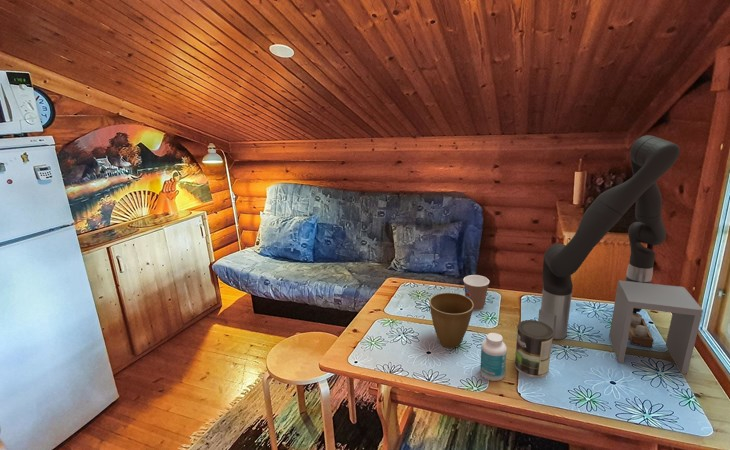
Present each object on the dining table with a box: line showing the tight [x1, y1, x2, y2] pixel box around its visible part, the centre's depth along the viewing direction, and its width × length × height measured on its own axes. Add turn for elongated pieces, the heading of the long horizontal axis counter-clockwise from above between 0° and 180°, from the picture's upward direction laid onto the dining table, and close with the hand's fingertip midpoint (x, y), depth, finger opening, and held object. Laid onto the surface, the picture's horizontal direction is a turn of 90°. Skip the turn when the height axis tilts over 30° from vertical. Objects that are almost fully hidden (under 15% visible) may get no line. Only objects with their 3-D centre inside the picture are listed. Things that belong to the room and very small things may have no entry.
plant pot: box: [429, 292, 474, 349], centre depth 135 cm, size 15×15×16 cm
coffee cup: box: [463, 274, 490, 311], centre depth 159 cm, size 10×10×12 cm
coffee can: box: [514, 319, 554, 378], centre depth 121 cm, size 10×10×14 cm
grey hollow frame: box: [608, 279, 704, 375], centre depth 123 cm, size 15×18×22 cm
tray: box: [628, 312, 654, 348], centre depth 136 cm, size 14×6×5 cm, turn 156°
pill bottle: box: [479, 332, 508, 382], centre depth 119 cm, size 8×7×14 cm
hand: (631, 318), depth 144 cm, fingers closed
